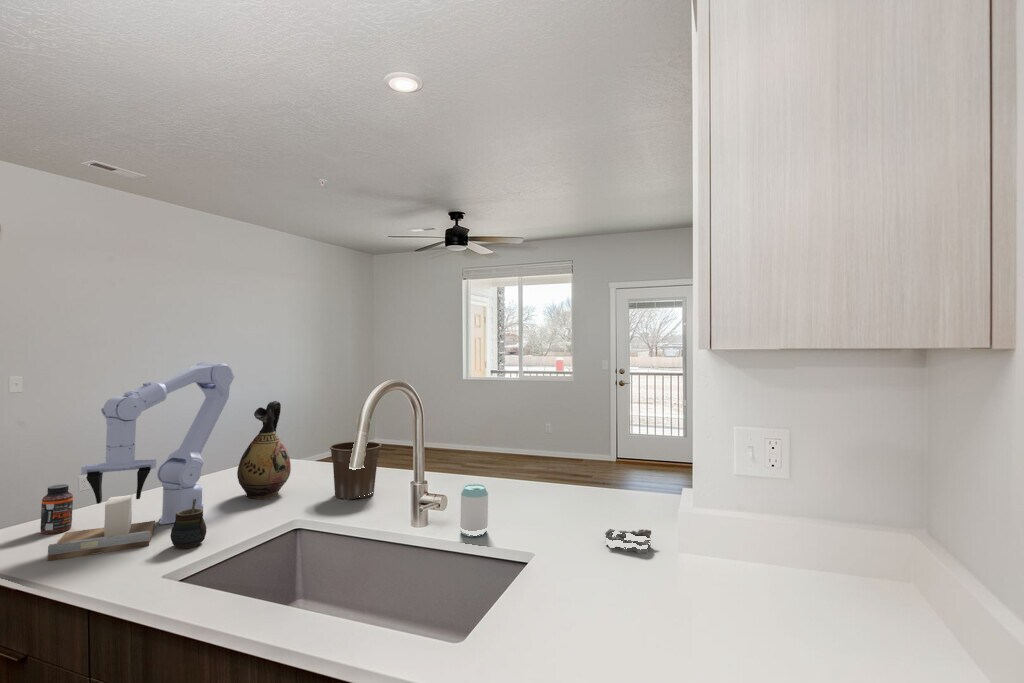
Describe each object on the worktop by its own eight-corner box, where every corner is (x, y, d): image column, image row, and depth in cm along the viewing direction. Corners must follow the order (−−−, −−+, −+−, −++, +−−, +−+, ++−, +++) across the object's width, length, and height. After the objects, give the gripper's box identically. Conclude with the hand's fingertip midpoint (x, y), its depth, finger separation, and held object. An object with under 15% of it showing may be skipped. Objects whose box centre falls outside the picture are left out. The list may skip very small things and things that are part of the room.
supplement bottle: (52, 536, 125) (54, 489, 125) (33, 533, 126) (35, 488, 126) (78, 527, 130) (79, 483, 131) (59, 525, 132) (61, 482, 132)
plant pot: (343, 487, 173) (344, 439, 173) (388, 489, 171) (388, 441, 171) (318, 500, 157) (319, 448, 157) (367, 503, 155) (368, 450, 155)
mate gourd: (167, 553, 115) (169, 509, 115) (172, 542, 122) (173, 500, 122) (204, 548, 118) (205, 505, 119) (207, 537, 125) (208, 497, 125)
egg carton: (653, 547, 124) (653, 530, 124) (645, 557, 117) (646, 539, 117) (611, 538, 129) (611, 522, 129) (601, 548, 122) (602, 531, 123)
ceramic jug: (276, 502, 154) (278, 404, 155) (226, 501, 155) (229, 403, 155) (300, 487, 171) (302, 399, 172) (255, 487, 172) (257, 398, 172)
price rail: (149, 539, 120) (149, 530, 120) (148, 540, 119) (149, 532, 119) (49, 553, 111) (49, 544, 111) (47, 555, 110) (48, 546, 110)
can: (492, 531, 132) (492, 485, 133) (479, 540, 126) (480, 491, 126) (468, 526, 135) (469, 482, 135) (455, 535, 129) (455, 488, 129)
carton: (131, 526, 128) (132, 495, 129) (127, 535, 122) (128, 502, 123) (108, 529, 126) (109, 497, 126) (103, 538, 120) (104, 504, 120)
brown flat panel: (154, 525, 133) (154, 520, 133) (148, 545, 119) (149, 540, 119) (65, 537, 124) (65, 532, 124) (47, 560, 110) (47, 555, 110)
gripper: (79, 450, 118) (77, 509, 117) (155, 445, 125) (153, 500, 125) (85, 445, 124) (83, 501, 123) (157, 440, 131) (155, 493, 131)
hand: (119, 500), depth 124 cm, fingers open, 7 cm apart
